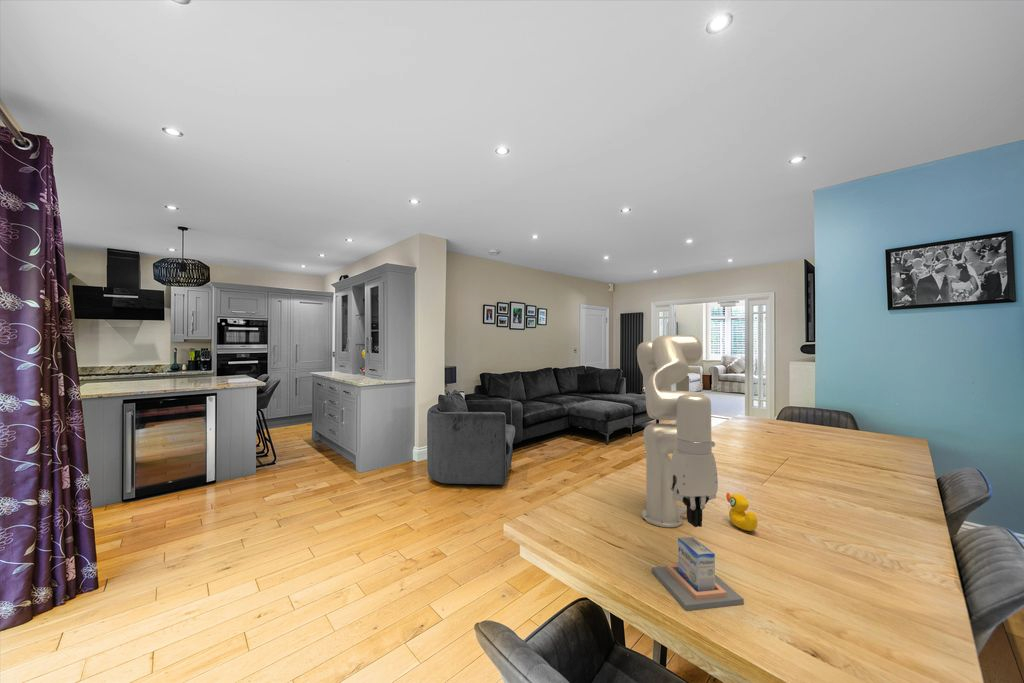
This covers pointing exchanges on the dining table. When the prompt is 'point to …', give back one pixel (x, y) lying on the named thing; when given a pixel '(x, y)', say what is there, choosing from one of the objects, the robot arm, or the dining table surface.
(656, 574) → the base plate
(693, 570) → the medicine box
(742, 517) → the duckling
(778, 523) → the dining table surface
